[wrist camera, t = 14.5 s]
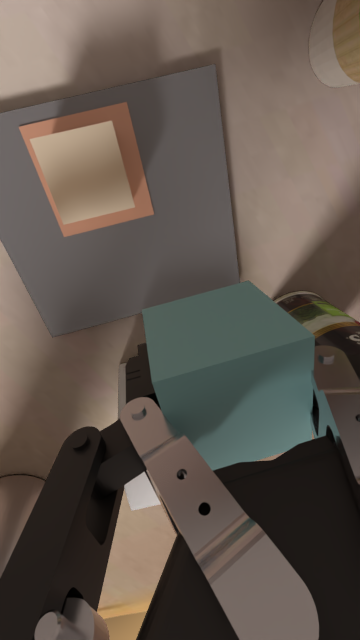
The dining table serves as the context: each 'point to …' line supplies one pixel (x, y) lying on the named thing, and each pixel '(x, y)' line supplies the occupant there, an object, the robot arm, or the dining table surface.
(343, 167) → the dining table surface
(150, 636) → the robot arm
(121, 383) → the supplement box
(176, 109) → the baseplate
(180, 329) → the teal block
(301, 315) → the coffee can
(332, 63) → the coffee cup
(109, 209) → the ash block
